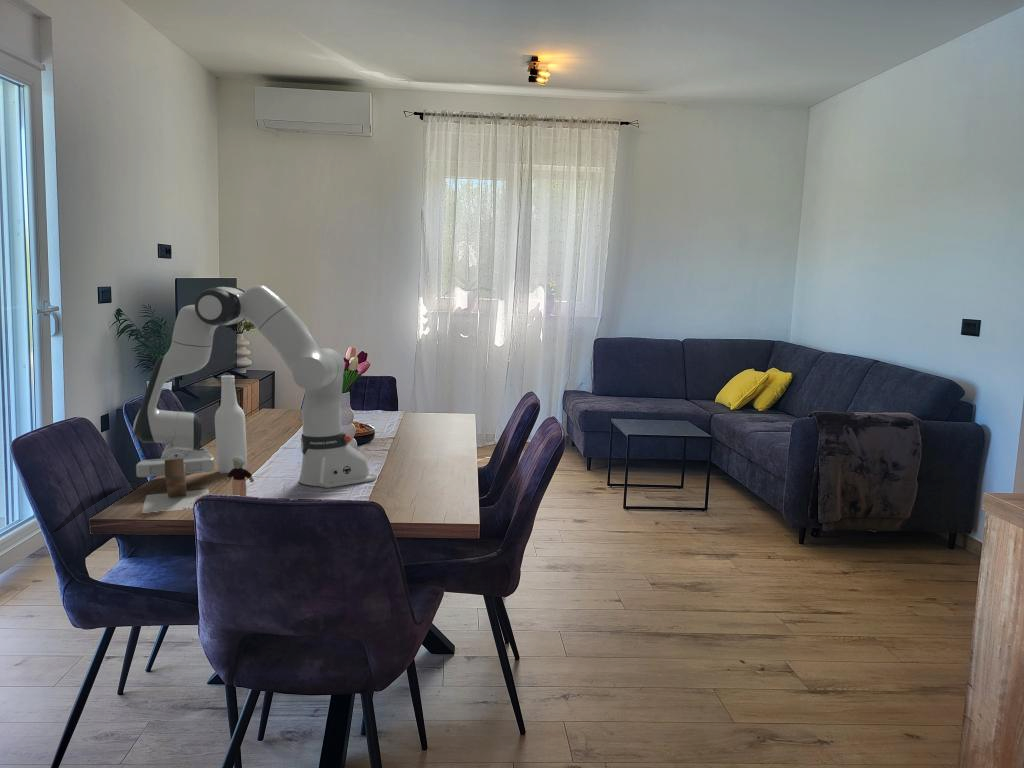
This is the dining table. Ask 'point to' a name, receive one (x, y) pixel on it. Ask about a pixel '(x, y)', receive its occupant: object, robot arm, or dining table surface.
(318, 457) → the robot arm
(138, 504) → the dining table surface
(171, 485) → the walnut block
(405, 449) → the dining table surface
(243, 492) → the grandmother figurine
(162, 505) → the felt mat
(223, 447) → the alcohol
